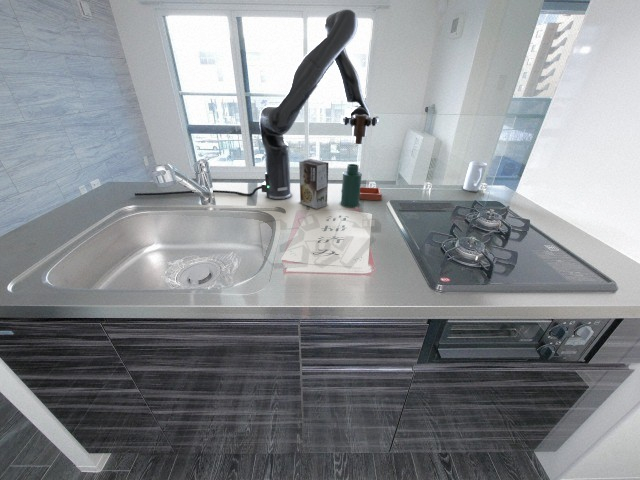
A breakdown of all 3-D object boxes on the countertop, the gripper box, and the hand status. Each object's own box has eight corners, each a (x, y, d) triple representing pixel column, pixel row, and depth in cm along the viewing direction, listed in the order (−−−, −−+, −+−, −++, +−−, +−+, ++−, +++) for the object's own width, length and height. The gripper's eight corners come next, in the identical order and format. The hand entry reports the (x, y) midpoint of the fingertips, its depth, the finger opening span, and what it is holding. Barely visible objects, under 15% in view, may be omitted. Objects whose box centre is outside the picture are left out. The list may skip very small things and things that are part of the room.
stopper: (351, 144, 92) (354, 115, 88) (351, 142, 96) (353, 114, 92) (365, 144, 92) (368, 116, 87) (364, 142, 96) (367, 115, 91)
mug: (460, 186, 126) (468, 161, 120) (475, 187, 126) (483, 161, 120) (468, 193, 118) (476, 166, 112) (484, 194, 117) (493, 167, 111)
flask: (340, 206, 101) (343, 167, 93) (341, 200, 107) (343, 162, 99) (358, 207, 100) (362, 168, 93) (358, 201, 106) (362, 163, 99)
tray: (357, 199, 108) (358, 193, 107) (357, 192, 116) (357, 186, 114) (380, 200, 108) (381, 194, 107) (378, 193, 115) (379, 188, 114)
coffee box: (327, 205, 102) (329, 162, 94) (316, 209, 98) (317, 165, 90) (311, 198, 107) (311, 158, 100) (299, 203, 103) (298, 160, 95)
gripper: (340, 106, 101) (339, 109, 87) (378, 108, 101) (384, 110, 86) (339, 127, 105) (338, 134, 90) (376, 129, 104) (380, 135, 89)
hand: (360, 122), depth 88 cm, fingers closed on stopper, 4 cm apart
